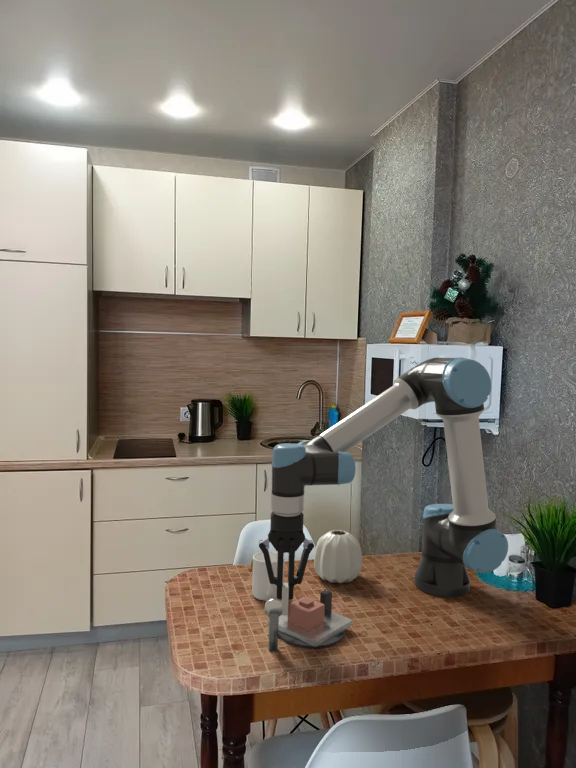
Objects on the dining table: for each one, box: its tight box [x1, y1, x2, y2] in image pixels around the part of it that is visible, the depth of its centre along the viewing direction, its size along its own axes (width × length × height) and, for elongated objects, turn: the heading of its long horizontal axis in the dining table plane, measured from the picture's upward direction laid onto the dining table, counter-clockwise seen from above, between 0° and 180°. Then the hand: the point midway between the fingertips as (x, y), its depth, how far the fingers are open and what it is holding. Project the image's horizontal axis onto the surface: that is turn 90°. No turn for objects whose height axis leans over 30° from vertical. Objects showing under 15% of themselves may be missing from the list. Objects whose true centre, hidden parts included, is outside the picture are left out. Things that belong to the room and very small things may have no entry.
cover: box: [288, 596, 325, 630], centre depth 131 cm, size 6×6×5 cm
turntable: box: [267, 588, 354, 647], centre depth 131 cm, size 14×14×6 cm
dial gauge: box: [264, 598, 283, 652], centre depth 123 cm, size 4×3×11 cm, turn 94°
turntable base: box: [278, 629, 346, 649], centre depth 132 cm, size 16×16×1 cm
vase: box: [313, 529, 363, 584], centre depth 163 cm, size 14×14×13 cm
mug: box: [251, 551, 285, 602], centre depth 149 cm, size 12×8×10 cm
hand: (284, 612), depth 131 cm, fingers closed
